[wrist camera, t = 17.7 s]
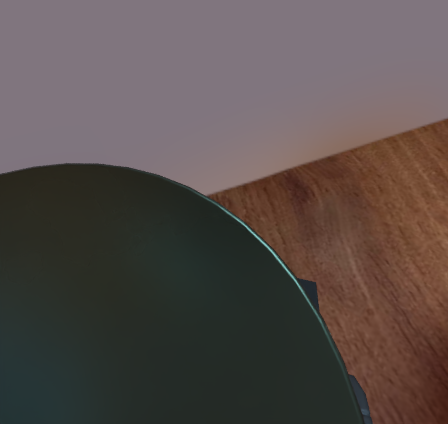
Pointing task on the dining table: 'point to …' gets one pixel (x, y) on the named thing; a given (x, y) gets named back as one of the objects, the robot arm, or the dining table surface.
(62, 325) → the tin
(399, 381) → the dining table surface
